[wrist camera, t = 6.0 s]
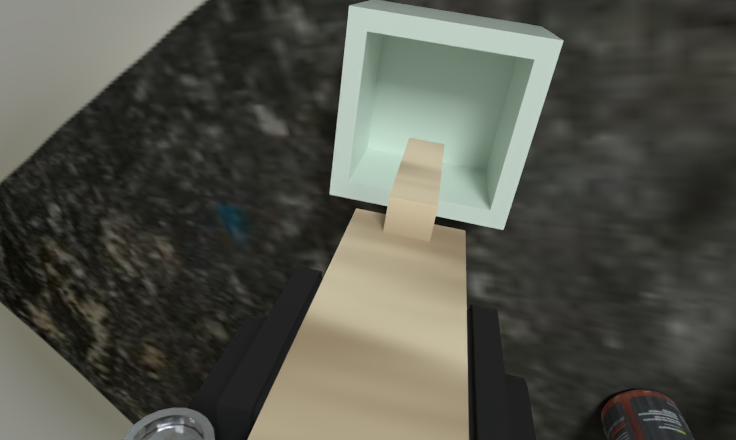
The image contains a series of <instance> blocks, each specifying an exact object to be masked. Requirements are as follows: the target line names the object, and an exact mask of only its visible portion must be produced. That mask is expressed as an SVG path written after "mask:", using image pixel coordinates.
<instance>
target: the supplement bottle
mask: <svg viewBox="0 0 736 440" xmlns="http://www.w3.org/2000/svg"><path fill="white" fill-rule="evenodd" d="M601 421H602V424H603V429H604V432H605V435H606V438H607V440H695V439H694V437H693V435H692V434H691V432H690V430H689V428H688V426H687V424H686V422H685V420H684V418H683V416H682V414H681V412H680V410H679V409H678V407H677V406H676V404H675V403H674V401H673V400H672V399H670V398H669V397H667V396H666V395H664V394H662V393H659V392H656V391H652V390H646V389H641V390H640V389H638V390H630V391H626V392H622V393H620V394H617V395H616V396H614V397H613V398H611V399H610V400H609V401H608V402H607V403H606V404H605V406H604V407H603V409H602V413H601Z"/></svg>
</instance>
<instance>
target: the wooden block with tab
mask: <svg viewBox="0 0 736 440" xmlns="http://www.w3.org/2000/svg"><path fill="white" fill-rule="evenodd" d="M444 145H445V144H441V143H435V142H430V141H425V140H419V139H414V138H409V140H408V143H407V146H406V149H405V152H404V155H403V158H402V161H401V163H400V166H399V169H398V172H397V175H396V178H395V181H394V184H393V187H392V190H391V193H390V196H389V201H388V207H387V212H386V214H382V213H377V212H372V211H367V210H362V209H357V208H356V210H355V212H354V214H353V216H352V218H351V221H350V223H349V225H348V227H347V229H346V231H345V233H344V235H343V238H342V240H341V242H340V244H339V246H338V248H337V250H336V252H335V254H334V257H333V259H332V261H331V263H330V265H329V267H328V269H327V271H326V274H325V276H324V278H323V280H322V282H321V284H320V286H319V288H318V291H317V293H316V295H315V297H314V299H313V301H312V303H311V305H310V308H309V310H308V312H307V314H306V316H305V318H304V320H303V322H302V325H301V327H300V329H299V331H298V333H297V335H296V337H295V339H294V342H293V344H292V346H291V348H290V350H289V352H288V354H287V356H286V359H285V361H284V363H283V365H282V367H281V369H280V371H279V373H278V376H277V378H276V380H275V382H274V384H273V386H272V388H271V390H270V393H269V395H268V397H267V399H266V401H265V403H264V405H263V407H262V410H261V412H260V414H259V416H258V418H257V420H256V422H255V424H254V427H253V429H252V431H251V433H250V435H249V437H248V439H247V440H469V414H468V357H467V299H466V242H465V230H460V229H455V228H450V227H445V226H440V225H435V224H434V222H435V218H436V213H437V209H438V203H439V193H440V183H441V174H442V164H443V154H444Z"/></svg>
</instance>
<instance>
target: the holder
mask: <svg viewBox="0 0 736 440" xmlns="http://www.w3.org/2000/svg"><path fill="white" fill-rule="evenodd" d="M562 44H563V40H562V39H560V38H559V37H557V36H556V35H554V34H552V33H551V32H549V31H548V30H546V29H545V28H543V27H541V26H536V25H530V24H523V23H517V22H511V21H505V20H499V19H492V18H486V17H480V16H474V15H468V14H461V13H455V12H449V11H443V10H437V9H430V8H424V7H418V6H412V5H406V4H400V3H393V2H387V1H381V0H370V1H366V2H362V3H358V4H354V5H349V13H348V22H347V32H346V41H345V51H344V60H343V70H342V79H341V89H340V98H339V108H338V117H337V127H336V136H335V146H334V155H333V165H332V174H331V184H330V193H329V194H330V195H335V196H340V197H344V198H349V199H354V200H359V201H364V202H369V203H374V204H379V205H384V206H388V201H389V196H390V193H391V190H392V187H393V184H394V181H395V178H396V175H397V172H398V169H399V166H400V163H401V161H402V158H403V155H404V152H405V149H406V146H407V143H408V140H409V138H414V139H419V140H425V141H430V142H435V143H441V144H445V145H444V154H443V164H442V174H441V183H440V193H439V203H438V209H437V213H436V216H438V217H442V218H447V219H452V220H457V221H462V222H467V223H472V224H477V225H482V226H487V227H491V228H496V229H501V230H504V227H505V224H506V220H507V217H508V214H509V211H510V208H511V205H512V201H513V198H514V195H515V192H516V189H517V186H518V183H519V179H520V176H521V173H522V170H523V167H524V164H525V161H526V157H527V154H528V151H529V148H530V145H531V142H532V138H533V135H534V132H535V129H536V126H537V123H538V120H539V116H540V113H541V110H542V107H543V104H544V101H545V97H546V94H547V91H548V88H549V85H550V82H551V79H552V75H553V72H554V69H555V66H556V63H557V60H558V56H559V53H560V50H561V47H562Z"/></svg>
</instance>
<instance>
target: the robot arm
mask: <svg viewBox="0 0 736 440" xmlns="http://www.w3.org/2000/svg"><path fill="white" fill-rule="evenodd" d="M322 280H323V278H322V272H321V271H318V270H313V269H309V268H304V267H300V266H298V267H297V268H296V269H295V271H294V273H293V274H292V276H291V278H290V279H289V281H288V283H287V284H286V286H285V288H284V290H283V291H282V293H281V295H280V296H279V298H278V300H277V301H276V303H275V305H274V306H273V308H272V310H271V312H270V313H269V315H268V317H267V318H261V317H257V316H253V315H250V316H248V317H247V318H246V319H245V320H244V322H243V323H242V325H241V326H240V328H239V329H238V331H237V332H236V334H235V335H234V337H233V338H232V340H231V342H230V343H229V345H228V346H227V348H226V349H225V351H224V352H223V354H222V355H221V357H220V358H219V360H218V361H217V363H216V364H215V366H214V368H213V369H212V371H211V372H210V374H209V375H208V377H207V378H206V380H205V381H204V383H203V384H202V386H201V387H200V389H199V391H198V392H197V394H196V395H195V397H194V398H193V400H192V401H191V403H190V404H189V406H188V407H187V408H169V409H164V410H159V411H157V412H155V413H152V414H150V415H148V416H146V417H144V418H143V419H141V420H140V421H139V422H137V423H136V424H135V425H133V426H132V428H131V429H130V430H129V431H128V432H127V433H126V435H125V436H124V437H123V439H122V440H247V439H248V437H249V435H250V433H251V431H252V429H253V427H254V424H255V422H256V420H257V418H258V416H259V414H260V412H261V410H262V407H263V405H264V403H265V401H266V399H267V397H268V395H269V393H270V390H271V388H272V386H273V384H274V382H275V380H276V378H277V376H278V373H279V371H280V369H281V367H282V365H283V363H284V361H285V359H286V356H287V354H288V352H289V350H290V348H291V346H292V344H293V342H294V339H295V337H296V335H297V333H298V331H299V329H300V327H301V325H302V322H303V320H304V318H305V316H306V314H307V312H308V310H309V308H310V305H311V303H312V301H313V299H314V297H315V295H316V293H317V291H318V288H319V286H320V284H321V282H322ZM467 357H468V414H469V440H536V435H535V429H534V423H533V417H532V411H531V406H530V400H529V394H528V388H527V384H526V381H525V380H524V378H521V377H516V376H512V375H508V374H505V372H504V363H503V354H502V346H501V337H500V328H499V320H498V312H497V310H496V309H491V308H487V307H482V306H478V305H473V304H472V305H471V306H470V308H469V310H467Z"/></svg>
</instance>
